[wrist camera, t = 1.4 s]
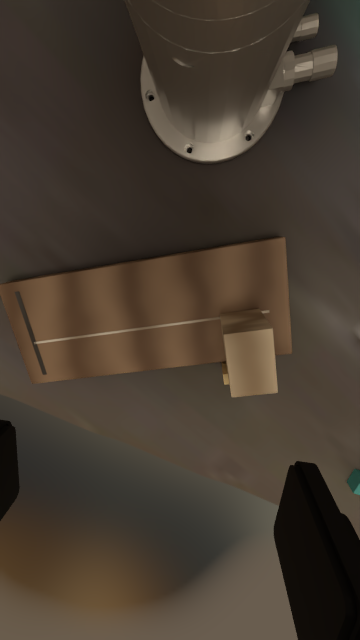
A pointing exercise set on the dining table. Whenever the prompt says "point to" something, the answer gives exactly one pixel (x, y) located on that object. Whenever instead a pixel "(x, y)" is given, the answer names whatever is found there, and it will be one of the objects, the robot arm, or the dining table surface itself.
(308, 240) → the dining table surface
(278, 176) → the dining table surface
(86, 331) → the walnut board
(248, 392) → the tan cardboard box
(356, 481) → the alien figure
